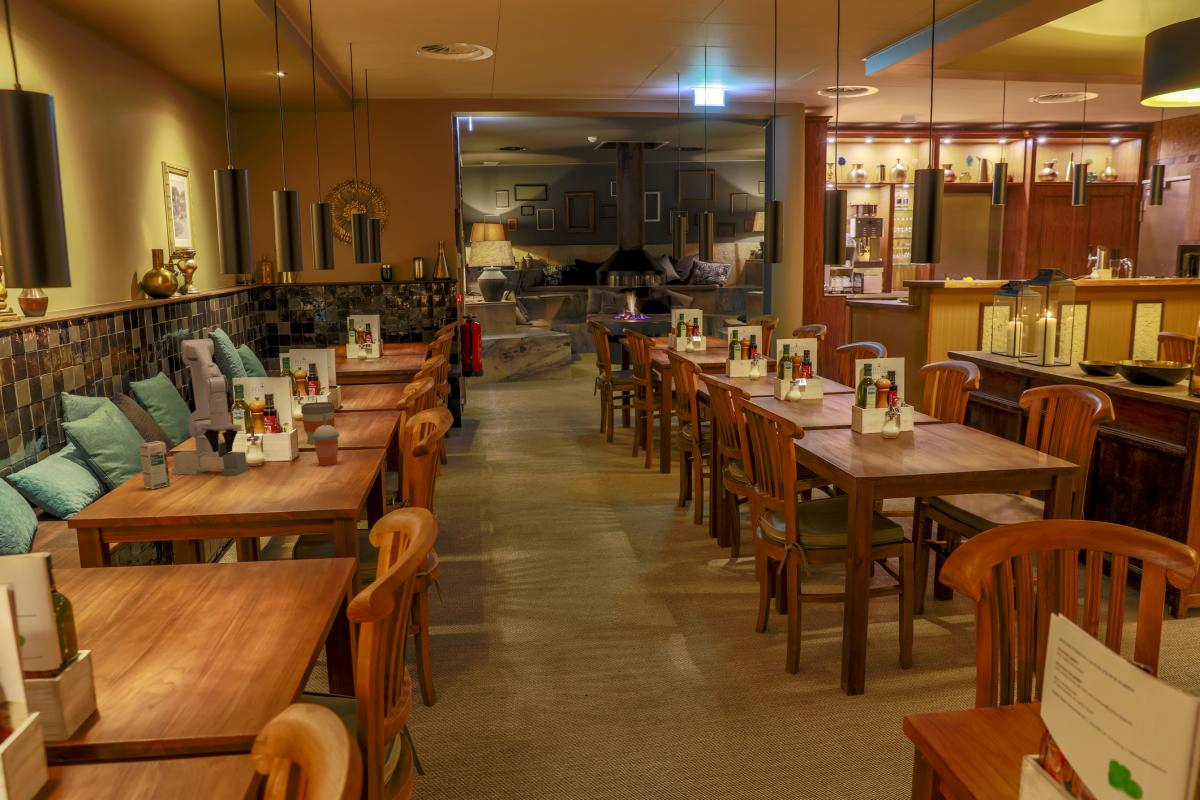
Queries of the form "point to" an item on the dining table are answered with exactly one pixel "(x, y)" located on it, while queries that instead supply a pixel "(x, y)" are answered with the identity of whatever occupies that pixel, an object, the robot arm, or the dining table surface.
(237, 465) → the slate stepped block
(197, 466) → the beige stepped block
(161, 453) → the syrup box
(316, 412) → the reusable coffee cup
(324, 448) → the cup with straw
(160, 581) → the dining table surface
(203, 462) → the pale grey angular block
